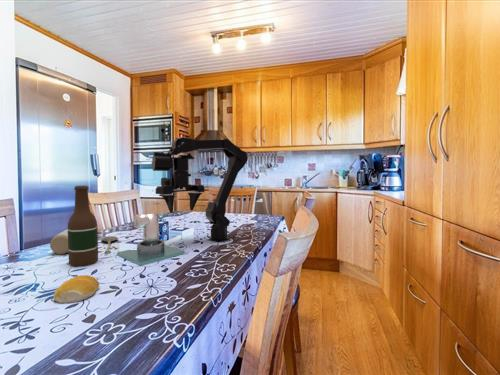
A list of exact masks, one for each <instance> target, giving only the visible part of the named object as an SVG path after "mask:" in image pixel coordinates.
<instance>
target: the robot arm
mask: <svg viewBox="0 0 500 375" xmlns="http://www.w3.org/2000/svg"><path fill="white" fill-rule="evenodd" d="M170 147H171V148H170V149H169V150H167V152H159V151H155V152H152V154H153V155H152V160H151V170H152V171H153V172H169V171H171V169H172V170H173V171H172V172H173V173H171V175H170V178H168V177H161V178H160V185H158V186H156V188H155V195H159V197H162V199H163V200H164V201H165V203H166V205H167V208H168V211H169V213H170V214H173V211H174V205H175V194H173V193H181V192H187V195H188V197H189V211H193V210H194V208H195V206H196V205H197V204H196V203H197V201H198V200H199V198H200V196H201V195H203V193H205V192H206V191H205V186H204V185H203V184H190V177H192V173H190V172H189V171H190V169H189V168H190V166H189V165H190V164H189V162H190V160H191V161H192V160H194V159H195V157H194V156H193V155H192V154H191V153H190V152H193V151H198V150H199V151H202V150H203V151H204V150H222V152H223V153H224V155H225V157H227V158H228V160H227V170H226V172H225V175H224V176H223V177H224V178H223V180H222V182H221V185H220V187H219V190H218V192H217V194H216V197H215V198H214V200H213V201H212V202H211V201H209V202H208V203H207V207H206V209H205V210H204V211H205V218H206V219H207V220H208V221H209V224H210V226H211V227H210V237H209V238H208V240H209V241H213V242H217V243H220V242H224V241H228V240H230V239H231V238H230V237H228V227H230V223H231V221H230V220H229V218H227V216H226V212H227V207H226V205H227V202H228V199H229V196H230V194H231V192H232V190H233V187H234V184H235V182H236V179H237V177H238V173H239V172H240V171H241V170H242V169H243V168H244V167H245V165H246V163H247V162H248V160H249V156H248V153H247V152H246V151H245V150H242V149H241V148H240V147H239V146H238V145H236V144H235V143H233V142H232V141H231V140H230V139H229V138H223V139H194V138H190V137H182V136H181V137H178V138H177V139H173V141H172V142H171V146H170ZM185 153H186V154H185ZM174 156H175V157H174ZM176 156H177V157H176Z"/></svg>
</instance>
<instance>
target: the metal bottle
mask: <svg viewBox="0 0 500 375" xmlns="http://www.w3.org/2000/svg"><path fill="white" fill-rule="evenodd" d="M159 214H160V213H159V212H146V213H139V214H134V216H133V218H132V219H133V226H134V228H136V229H140V228H142V231H143V235H142V236H143V238H142V239H143V240H142V241H143V244H144V246H151V245H157V244H159V240H160V225H159V224H160V222H159V221H160V220H159V218H160V217H159Z"/></svg>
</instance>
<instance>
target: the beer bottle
mask: <svg viewBox="0 0 500 375" xmlns="http://www.w3.org/2000/svg"><path fill="white" fill-rule="evenodd" d="M73 190H74V191H75V194H74V209H73V213H72V214H71V215H70V217H69V220H68V221H67V222H68V223H67V229H68V253H67V254H68V264H69V265H70V266H72V267H74V268H75V267H76V268H77V267H87V266H89V265H90V266H91V265H93V264H95V263H96V262H97V261H98V260H99V241H98V240H99V239H98V238H99V235H98V220H97V219H96V216H95V215H94V214H93V212H92V210H91V207H90V201H89V191H88V190H90V189H89V186H88V185H76V186H74V189H73Z"/></svg>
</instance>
